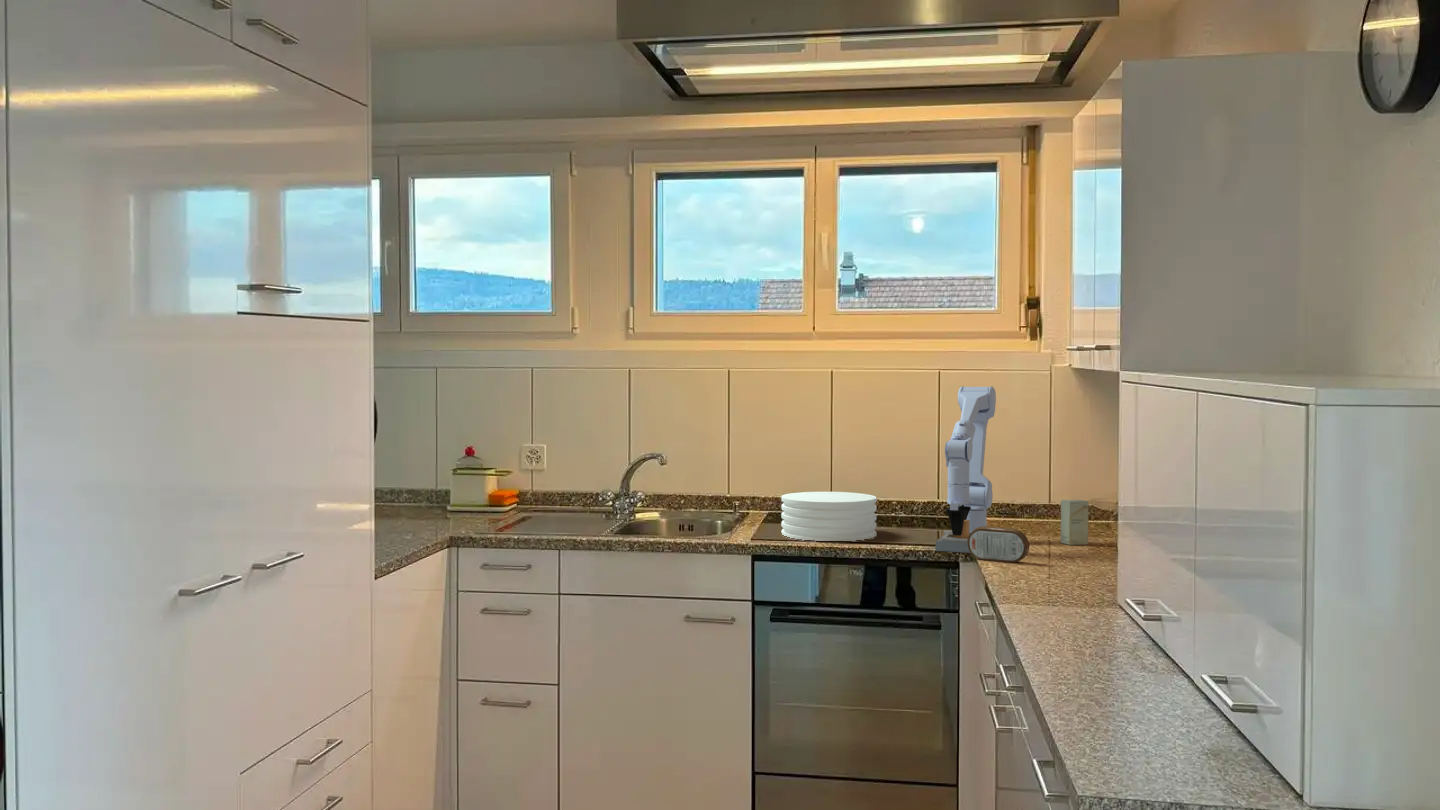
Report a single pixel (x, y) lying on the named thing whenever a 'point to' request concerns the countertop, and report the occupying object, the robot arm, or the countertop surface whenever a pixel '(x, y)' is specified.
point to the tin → (998, 544)
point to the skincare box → (1074, 522)
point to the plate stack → (828, 516)
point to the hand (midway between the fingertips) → (958, 534)
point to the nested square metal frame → (951, 543)
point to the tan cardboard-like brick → (964, 530)
